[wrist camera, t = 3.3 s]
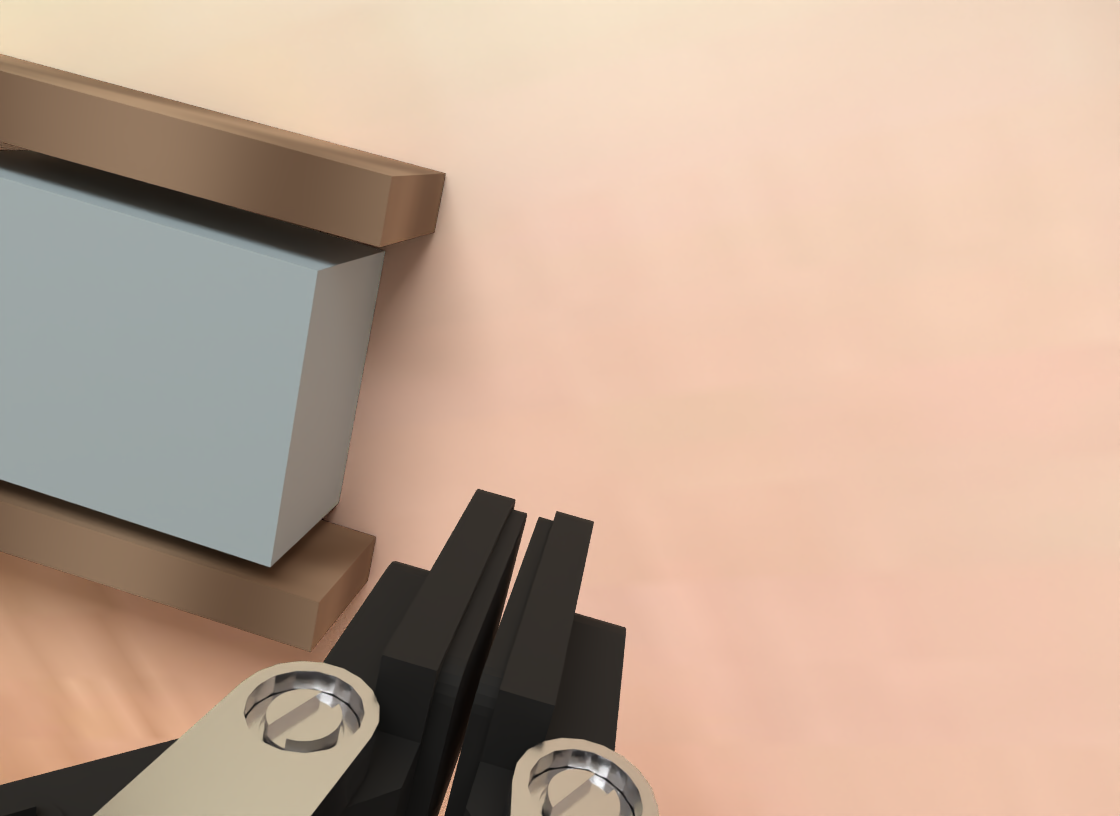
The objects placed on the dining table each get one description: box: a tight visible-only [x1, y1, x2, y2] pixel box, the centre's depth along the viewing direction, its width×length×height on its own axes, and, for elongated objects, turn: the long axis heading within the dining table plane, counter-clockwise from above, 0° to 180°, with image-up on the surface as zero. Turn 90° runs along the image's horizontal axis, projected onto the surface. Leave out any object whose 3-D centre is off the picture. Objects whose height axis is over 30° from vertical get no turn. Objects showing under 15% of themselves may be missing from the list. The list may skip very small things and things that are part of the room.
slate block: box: [0, 150, 385, 567], centre depth 17 cm, size 8×6×4 cm
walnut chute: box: [0, 54, 446, 652], centre depth 17 cm, size 16×10×3 cm, turn 76°
